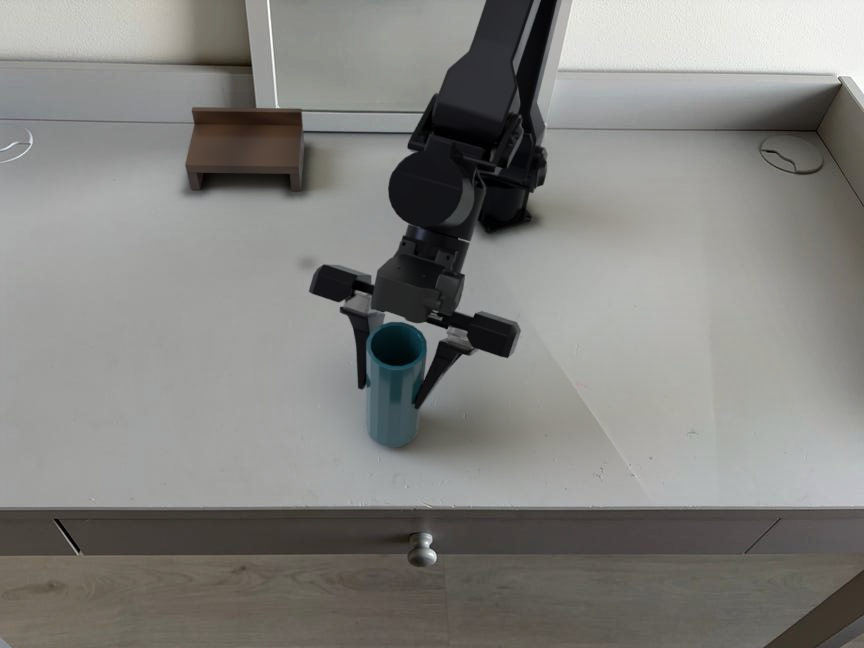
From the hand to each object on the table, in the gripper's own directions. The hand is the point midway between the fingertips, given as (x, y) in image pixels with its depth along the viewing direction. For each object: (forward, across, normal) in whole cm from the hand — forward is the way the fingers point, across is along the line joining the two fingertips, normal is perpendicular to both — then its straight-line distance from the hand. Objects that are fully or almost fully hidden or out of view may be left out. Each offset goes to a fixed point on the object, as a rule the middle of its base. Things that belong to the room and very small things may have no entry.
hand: (388, 398), depth 71 cm
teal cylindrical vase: (+4, 0, +6) cm, 7 cm away
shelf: (-17, -32, +28) cm, 46 cm away
